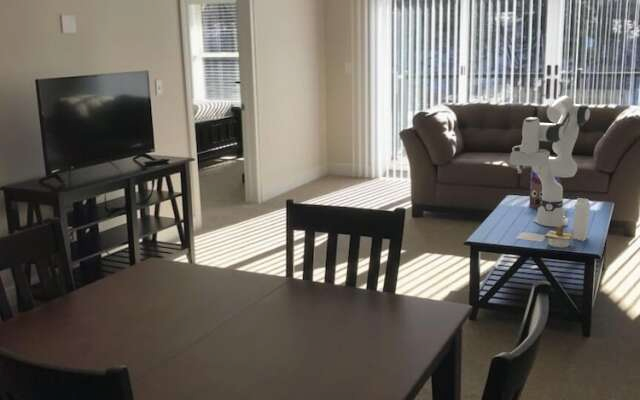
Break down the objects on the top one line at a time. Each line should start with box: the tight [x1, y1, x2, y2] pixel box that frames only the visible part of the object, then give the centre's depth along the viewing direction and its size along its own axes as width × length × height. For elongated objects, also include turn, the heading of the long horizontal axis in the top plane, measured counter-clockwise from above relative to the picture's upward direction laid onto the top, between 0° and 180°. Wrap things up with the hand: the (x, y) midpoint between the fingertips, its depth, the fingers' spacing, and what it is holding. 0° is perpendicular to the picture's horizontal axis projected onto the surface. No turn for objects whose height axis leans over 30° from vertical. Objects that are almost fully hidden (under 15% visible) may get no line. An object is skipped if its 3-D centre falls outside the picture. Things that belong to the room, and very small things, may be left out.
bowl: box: [548, 238, 571, 248], centre depth 357 cm, size 10×10×5 cm
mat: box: [515, 231, 546, 243], centre depth 372 cm, size 14×14×1 cm
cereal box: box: [528, 168, 562, 209], centre depth 436 cm, size 17×5×24 cm, turn 58°
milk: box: [572, 197, 591, 242], centre depth 366 cm, size 6×6×22 cm
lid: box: [544, 226, 574, 241], centre depth 355 cm, size 12×12×5 cm
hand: (528, 174), depth 368 cm, fingers open, 8 cm apart
